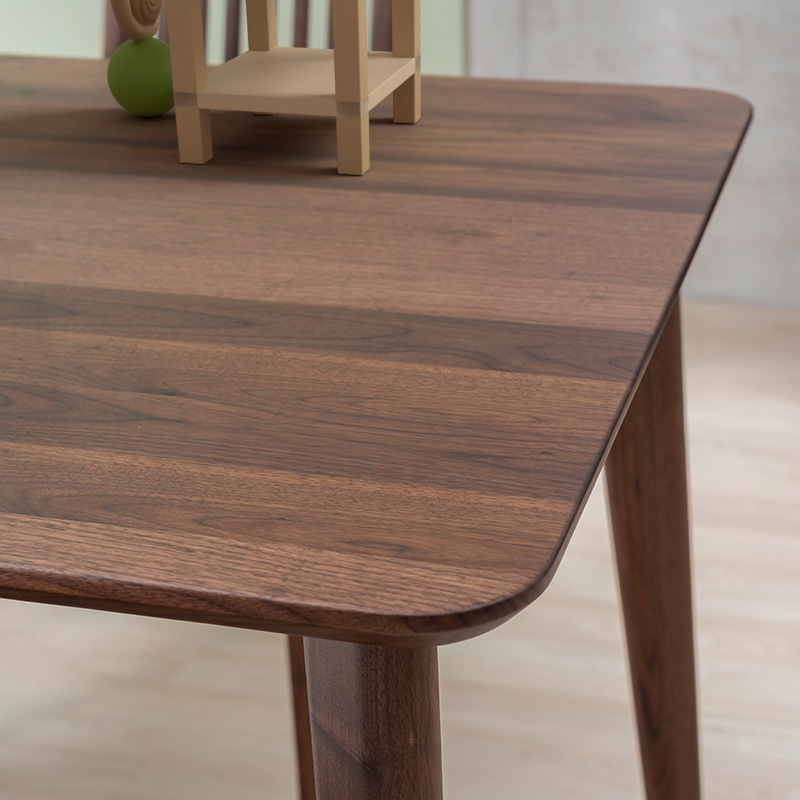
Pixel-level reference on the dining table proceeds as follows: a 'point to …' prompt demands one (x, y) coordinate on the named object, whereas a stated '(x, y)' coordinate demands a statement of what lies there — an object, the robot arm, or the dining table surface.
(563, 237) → the dining table surface
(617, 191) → the dining table surface
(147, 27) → the snail figurine
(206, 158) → the rack
